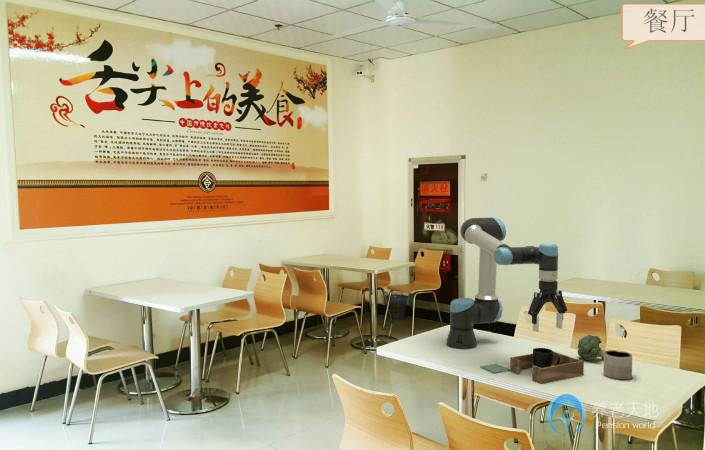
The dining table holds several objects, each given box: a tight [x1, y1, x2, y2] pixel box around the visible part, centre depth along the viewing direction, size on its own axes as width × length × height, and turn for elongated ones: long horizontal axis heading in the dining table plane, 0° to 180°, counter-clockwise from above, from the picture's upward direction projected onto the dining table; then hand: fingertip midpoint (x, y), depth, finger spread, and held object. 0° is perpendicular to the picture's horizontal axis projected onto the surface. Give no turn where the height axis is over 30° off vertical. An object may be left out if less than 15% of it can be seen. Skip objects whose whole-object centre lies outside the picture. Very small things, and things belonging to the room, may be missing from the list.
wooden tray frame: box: [509, 350, 585, 385], centre depth 235 cm, size 18×24×6 cm
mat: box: [479, 363, 511, 374], centre depth 240 cm, size 9×9×1 cm
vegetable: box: [577, 334, 606, 361], centre depth 254 cm, size 12×13×15 cm
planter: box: [602, 349, 633, 381], centre depth 231 cm, size 11×11×10 cm
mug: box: [532, 347, 560, 368], centre depth 235 cm, size 8×12×10 cm
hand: (547, 329), depth 234 cm, fingers open, 13 cm apart
